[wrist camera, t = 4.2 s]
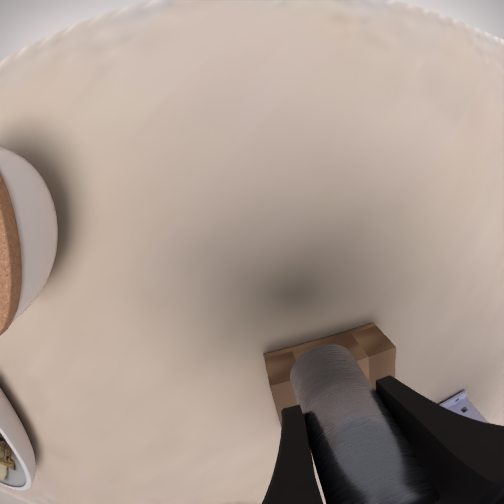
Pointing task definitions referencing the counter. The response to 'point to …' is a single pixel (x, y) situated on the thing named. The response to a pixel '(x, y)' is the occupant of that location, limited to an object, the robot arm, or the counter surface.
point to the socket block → (356, 341)
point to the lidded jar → (23, 236)
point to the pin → (355, 434)
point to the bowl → (14, 450)
